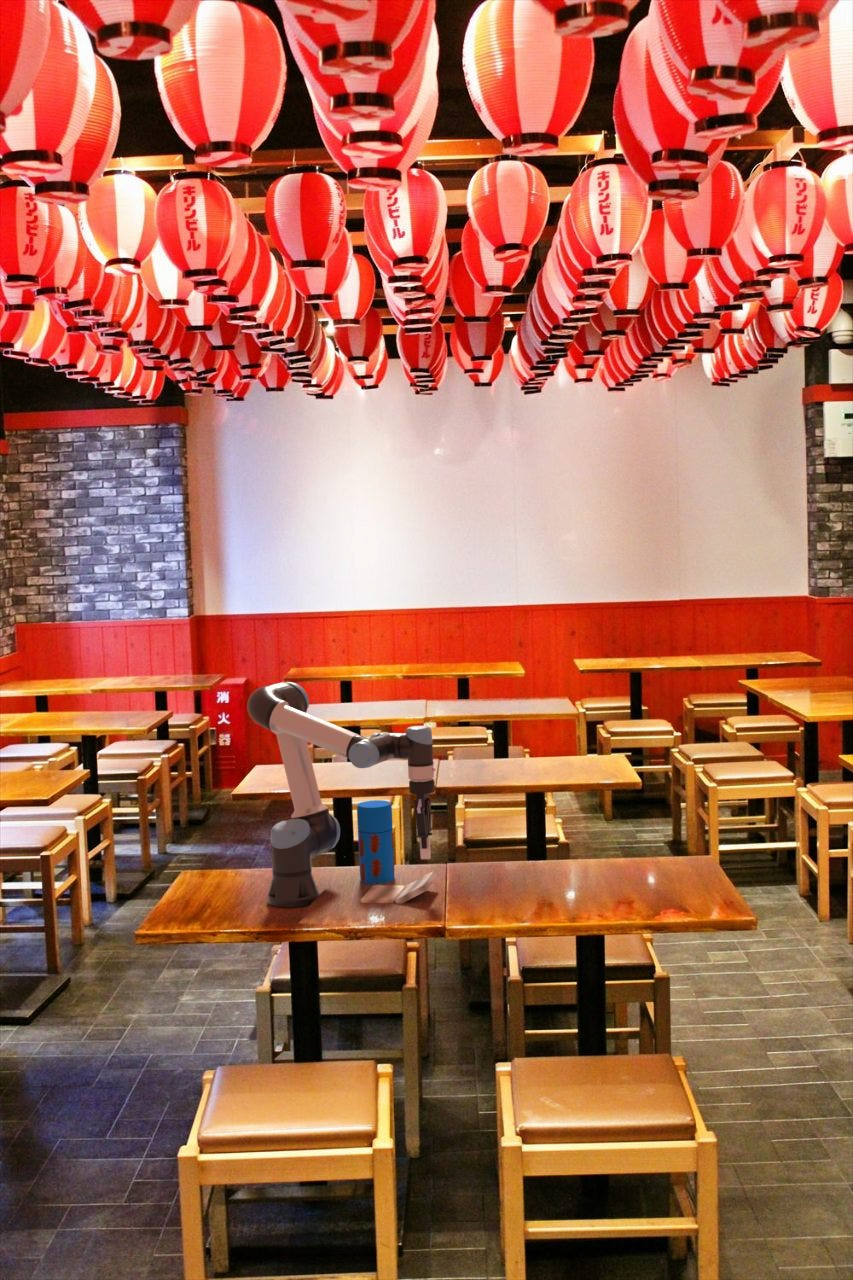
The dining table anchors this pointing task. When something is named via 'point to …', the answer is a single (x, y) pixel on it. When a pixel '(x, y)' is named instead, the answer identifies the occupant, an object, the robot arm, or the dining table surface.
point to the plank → (416, 888)
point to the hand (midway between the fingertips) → (425, 858)
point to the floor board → (382, 894)
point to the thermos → (375, 841)
